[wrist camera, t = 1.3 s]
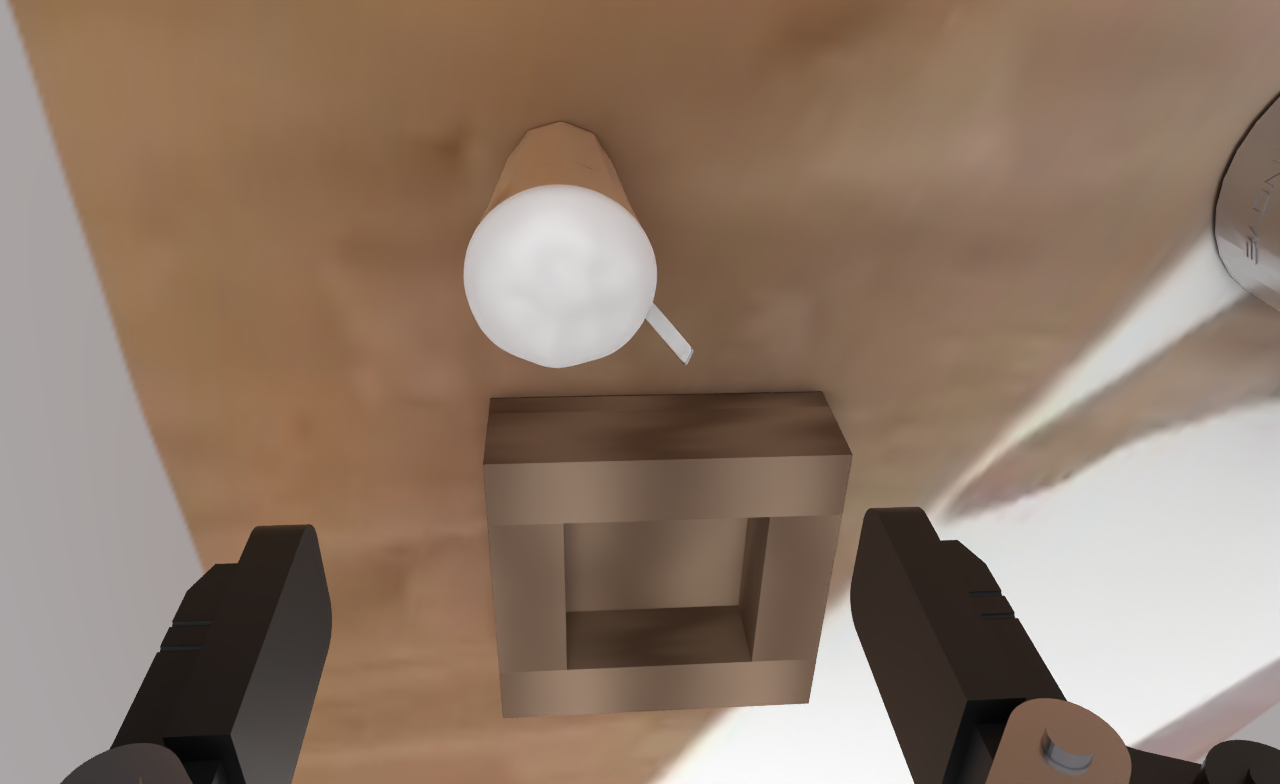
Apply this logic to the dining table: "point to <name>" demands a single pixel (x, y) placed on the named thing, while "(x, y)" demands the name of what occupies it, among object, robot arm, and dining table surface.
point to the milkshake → (563, 256)
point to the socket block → (661, 548)
